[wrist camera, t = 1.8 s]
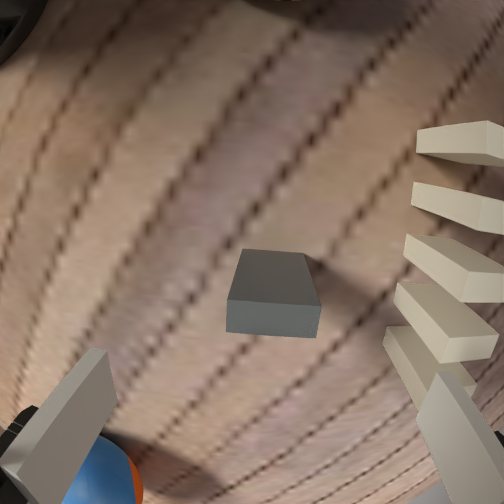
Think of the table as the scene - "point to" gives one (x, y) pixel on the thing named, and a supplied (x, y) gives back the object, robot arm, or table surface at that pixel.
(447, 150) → the domino
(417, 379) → the domino
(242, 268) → the domino
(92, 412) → the robot arm
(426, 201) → the domino
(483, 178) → the table surface
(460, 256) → the domino
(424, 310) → the domino
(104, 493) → the treat dispenser ball
